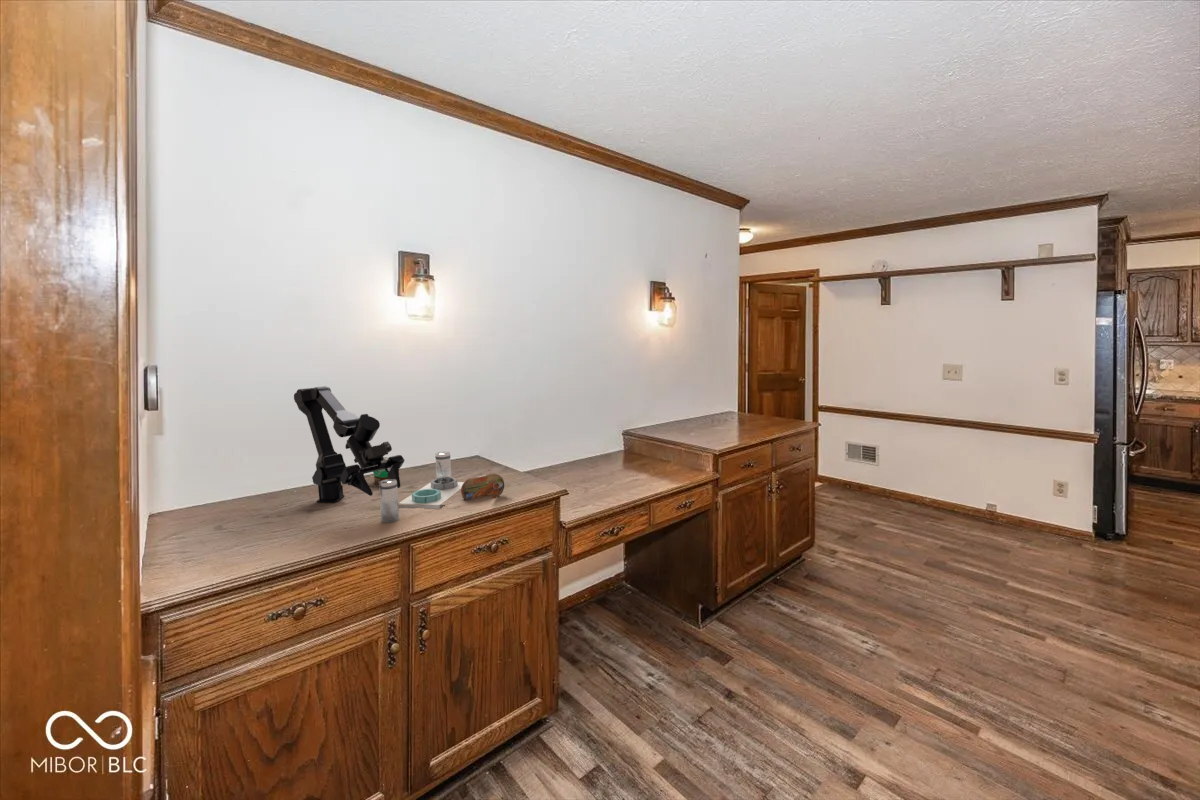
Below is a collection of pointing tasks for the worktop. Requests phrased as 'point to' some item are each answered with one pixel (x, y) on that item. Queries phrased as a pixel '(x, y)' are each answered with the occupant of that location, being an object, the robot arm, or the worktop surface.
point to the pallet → (431, 505)
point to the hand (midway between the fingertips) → (385, 491)
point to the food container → (381, 473)
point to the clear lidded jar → (443, 467)
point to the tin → (482, 486)
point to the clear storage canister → (388, 501)
